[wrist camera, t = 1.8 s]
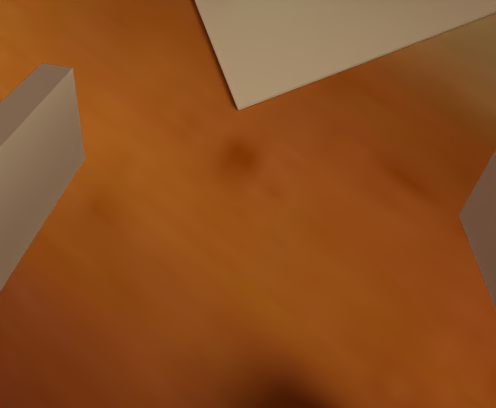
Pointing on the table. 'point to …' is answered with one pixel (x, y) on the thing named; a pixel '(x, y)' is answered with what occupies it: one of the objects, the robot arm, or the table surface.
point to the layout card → (318, 37)
